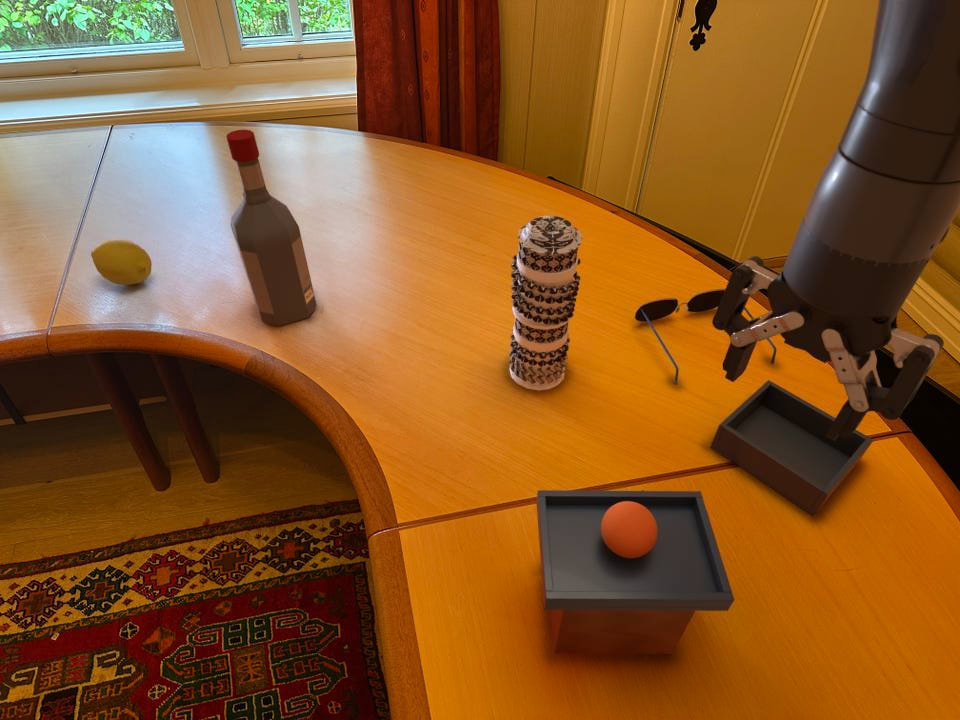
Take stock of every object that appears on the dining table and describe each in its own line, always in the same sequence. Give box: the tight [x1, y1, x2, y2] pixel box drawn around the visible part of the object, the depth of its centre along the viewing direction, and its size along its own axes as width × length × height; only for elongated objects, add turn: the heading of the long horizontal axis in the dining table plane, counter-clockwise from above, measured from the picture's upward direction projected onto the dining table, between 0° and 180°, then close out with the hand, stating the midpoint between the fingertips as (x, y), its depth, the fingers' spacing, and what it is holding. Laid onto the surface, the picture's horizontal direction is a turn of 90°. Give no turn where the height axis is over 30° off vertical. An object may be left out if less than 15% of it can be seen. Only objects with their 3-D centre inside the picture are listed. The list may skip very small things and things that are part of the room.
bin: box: [709, 379, 874, 517], centre depth 79 cm, size 14×12×5 cm
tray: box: [535, 489, 735, 612], centre depth 56 cm, size 16×11×2 cm
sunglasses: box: [634, 288, 778, 385], centre depth 96 cm, size 17×15×5 cm
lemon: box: [90, 238, 153, 286], centre depth 106 cm, size 11×8×8 cm
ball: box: [601, 501, 658, 558], centre depth 55 cm, size 5×5×5 cm
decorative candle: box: [508, 215, 584, 391], centre depth 83 cm, size 9×9×25 cm
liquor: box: [226, 129, 317, 327], centre depth 93 cm, size 9×9×30 cm
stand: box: [550, 610, 696, 655], centre depth 61 cm, size 12×9×12 cm
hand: (782, 403), depth 49 cm, fingers open, 8 cm apart
